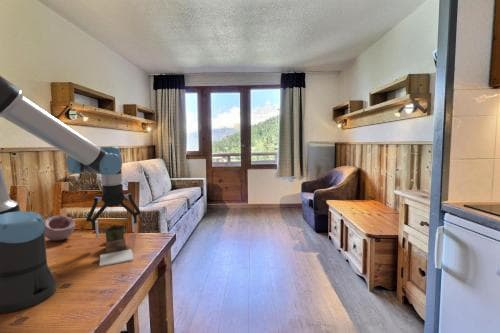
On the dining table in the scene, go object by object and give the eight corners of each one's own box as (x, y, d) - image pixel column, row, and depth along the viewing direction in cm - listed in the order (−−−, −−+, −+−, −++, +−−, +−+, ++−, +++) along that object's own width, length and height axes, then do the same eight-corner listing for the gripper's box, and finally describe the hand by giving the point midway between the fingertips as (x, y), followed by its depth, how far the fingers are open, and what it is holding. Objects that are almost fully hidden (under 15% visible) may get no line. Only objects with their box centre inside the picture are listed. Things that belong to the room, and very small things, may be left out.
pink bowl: (53, 246, 113) (51, 219, 112) (37, 242, 118) (35, 216, 117) (81, 237, 124) (80, 213, 123) (65, 233, 129) (64, 210, 128)
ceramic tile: (133, 260, 100) (133, 258, 99) (99, 266, 94) (99, 265, 94) (131, 250, 108) (131, 249, 108) (100, 256, 103) (100, 254, 103)
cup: (118, 241, 119) (117, 223, 118) (129, 244, 115) (128, 226, 114) (101, 247, 112) (100, 228, 112) (112, 250, 109) (111, 231, 108)
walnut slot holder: (123, 239, 122) (123, 230, 121) (125, 249, 109) (125, 240, 109) (106, 241, 118) (105, 232, 118) (106, 253, 106) (105, 243, 106)
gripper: (143, 180, 120) (146, 226, 123) (77, 185, 109) (81, 236, 111) (145, 182, 114) (148, 231, 116) (75, 188, 102) (80, 242, 105)
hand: (115, 233), depth 114 cm, fingers open, 13 cm apart
